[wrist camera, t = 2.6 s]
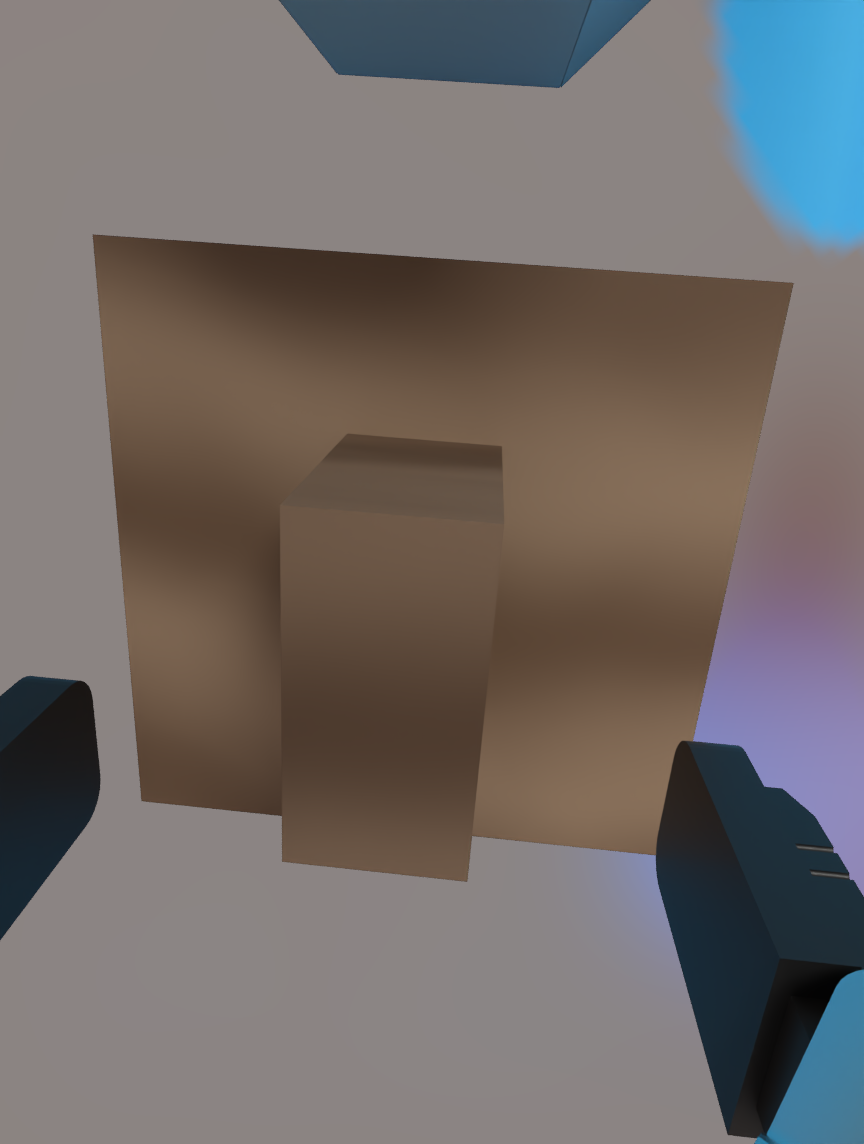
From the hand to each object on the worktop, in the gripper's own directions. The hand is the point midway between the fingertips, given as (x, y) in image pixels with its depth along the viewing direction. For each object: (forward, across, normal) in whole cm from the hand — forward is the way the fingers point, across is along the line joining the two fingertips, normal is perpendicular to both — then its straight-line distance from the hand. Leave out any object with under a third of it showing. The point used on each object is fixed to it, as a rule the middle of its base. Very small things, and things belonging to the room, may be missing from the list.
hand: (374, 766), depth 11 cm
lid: (+7, 0, 0) cm, 7 cm away
